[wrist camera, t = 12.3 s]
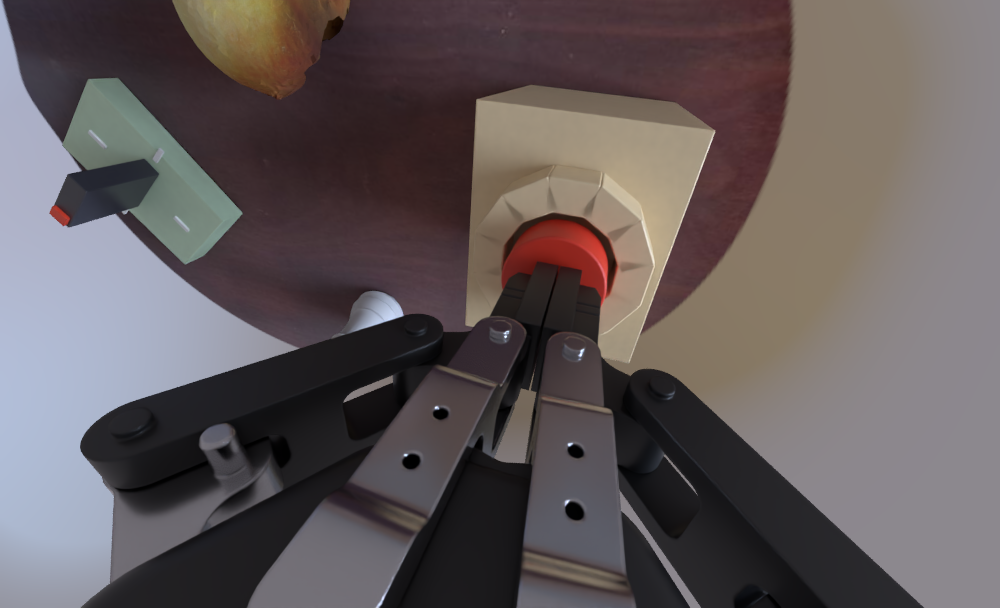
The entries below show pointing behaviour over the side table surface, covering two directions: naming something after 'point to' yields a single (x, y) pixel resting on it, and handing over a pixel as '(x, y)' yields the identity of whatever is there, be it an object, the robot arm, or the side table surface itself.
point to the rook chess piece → (371, 311)
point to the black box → (103, 192)
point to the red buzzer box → (583, 190)
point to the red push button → (560, 252)
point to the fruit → (263, 38)
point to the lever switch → (181, 182)
